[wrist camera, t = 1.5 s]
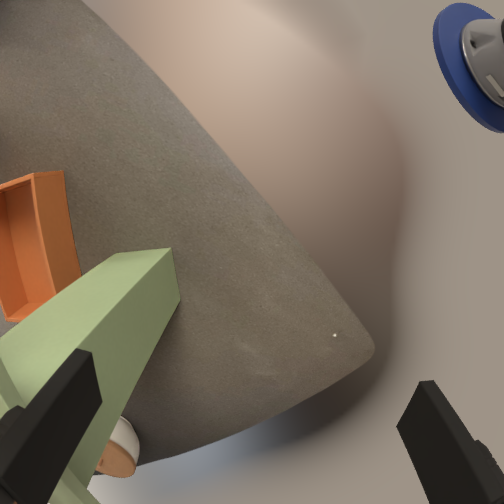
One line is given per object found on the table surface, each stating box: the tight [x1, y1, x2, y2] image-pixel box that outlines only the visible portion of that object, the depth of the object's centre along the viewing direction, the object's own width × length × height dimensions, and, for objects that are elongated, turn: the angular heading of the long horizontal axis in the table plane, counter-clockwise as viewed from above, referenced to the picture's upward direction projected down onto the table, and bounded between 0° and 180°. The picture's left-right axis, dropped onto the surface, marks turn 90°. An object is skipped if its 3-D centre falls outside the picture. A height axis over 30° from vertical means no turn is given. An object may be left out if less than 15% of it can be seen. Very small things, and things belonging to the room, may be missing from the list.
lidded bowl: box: [95, 416, 140, 478], centre depth 41 cm, size 13×13×11 cm
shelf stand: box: [0, 248, 181, 504], centre depth 23 cm, size 12×10×30 cm
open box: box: [0, 171, 82, 322], centre depth 34 cm, size 19×13×7 cm
